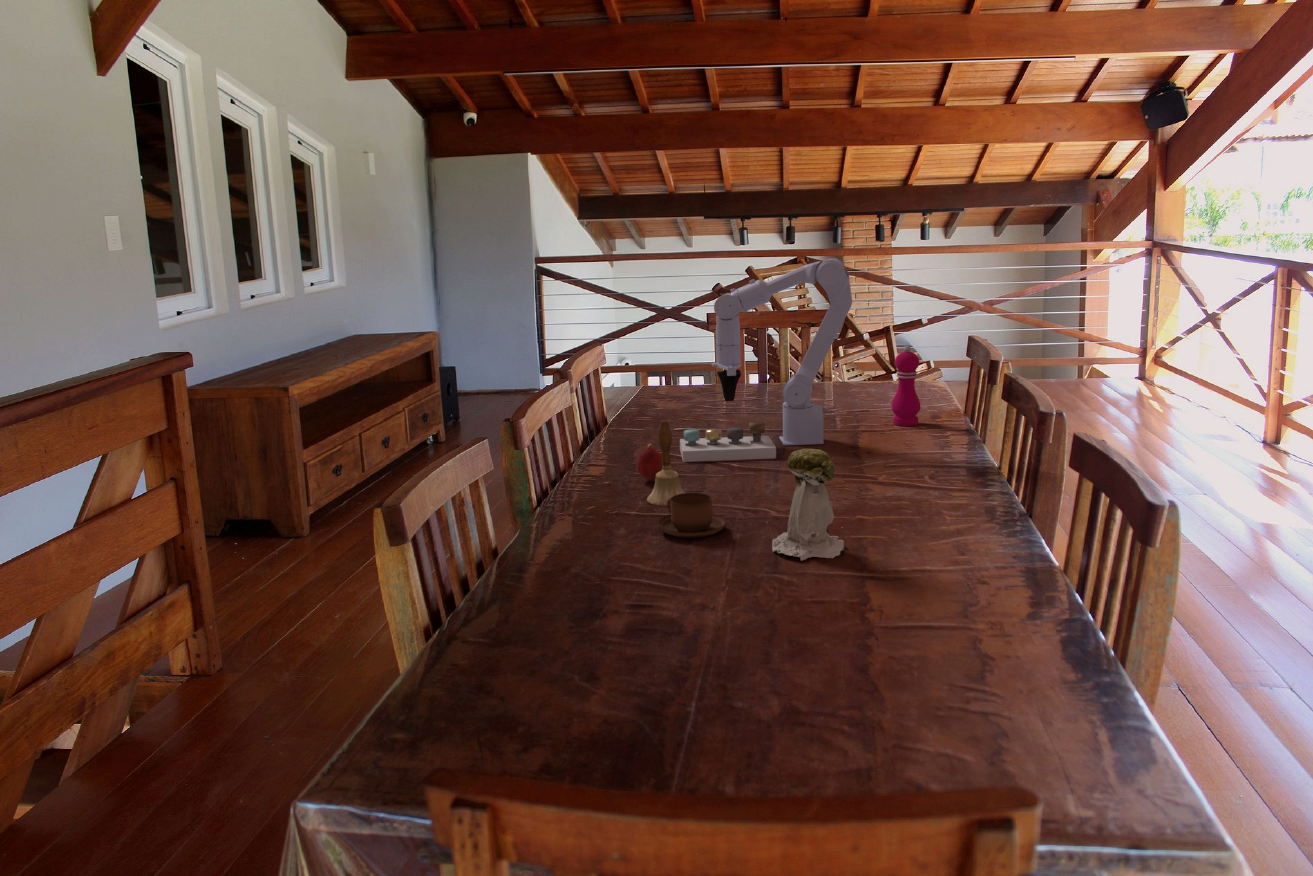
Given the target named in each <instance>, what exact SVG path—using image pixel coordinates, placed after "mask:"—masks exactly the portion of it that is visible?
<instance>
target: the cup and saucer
mask: <svg viewBox="0 0 1313 876" xmlns="http://www.w3.org/2000/svg"><path fill="white" fill-rule="evenodd" d="M670 504H671V506H670ZM666 507H667V510H668V512H669V513H670V514H667V515H664V516H663V517H661V518H659V519H658V521H657V525H658V528H659V529H660V530H661V531H662V532H664V533H666V534H667V535H670V536H673V537H678V538H684V539H685V538H690V539H691V538H693V539H694V538H702V537H707V536H708V537H709V536H712V535H714V534H716V533H719V532H720V531H721V530H722V529H723V528H724V527H725V526H726V524H727V523H726V522H727V521H726V518H725V517H723V516H721V515H719V514H717V513H713V497H712V496H711V495H709V494H706V493H703V492H702V493H701V492H685V493H683V494H678V495H675V496H673V497H671V498H670V499H669V500H668V501H667V506H666Z"/></svg>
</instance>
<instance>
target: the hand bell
mask: <svg viewBox="0 0 1313 876" xmlns="http://www.w3.org/2000/svg"><path fill="white" fill-rule="evenodd" d="M657 434H658V444H659V448H660V450H661V455H662V465H663V466H662V468H663V469H662V470H661V471H660V472H658V473H657V474H656V479H655V480H654V486H653V489H652V491H651V493H650V494H649V495H648V496H647V498H646V502H647V503H649V504H650V505H653V506H660V507H667V501H668V500H669V499H670V498H671V497H673V496H675V495H678V494H683V493H686V492H685V491H684V490H683V488H682V485H681V482H680V475H679V473H678V472H677V471H675V470H673V469H672V462H671V452H670V451H671V446H672V440H673V439H672V438H673V436H672V430H671V427H670V425H669V421H668V420H665V419H662V420H660V425H659V428H658V433H657ZM670 507H671V504H670Z"/></svg>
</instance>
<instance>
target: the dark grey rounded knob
mask: <svg viewBox="0 0 1313 876" xmlns="http://www.w3.org/2000/svg"><path fill="white" fill-rule="evenodd" d="M726 434H727V435H726V437H727V438H728V439H731V445H734V444H739V439H743V437H744V429H743V428H741V427H729V428H727V430H726Z"/></svg>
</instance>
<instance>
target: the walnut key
mask: <svg viewBox="0 0 1313 876" xmlns="http://www.w3.org/2000/svg"><path fill="white" fill-rule="evenodd" d="M748 433H750V434H752V436H753V442H761V436H762V434H764V433H766V425H765V422H763V421H751V422H749V423H748Z"/></svg>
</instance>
